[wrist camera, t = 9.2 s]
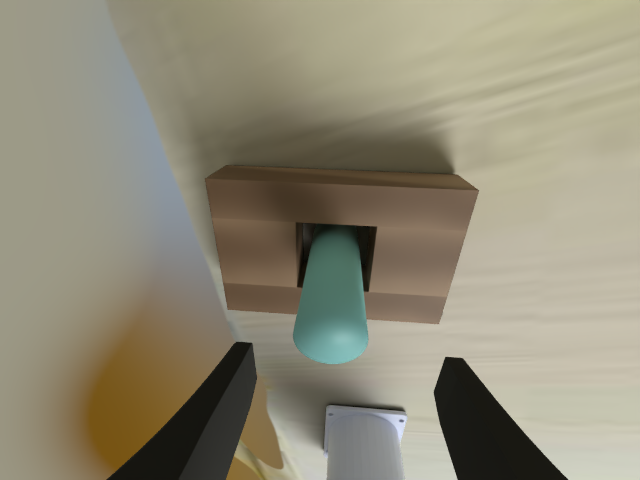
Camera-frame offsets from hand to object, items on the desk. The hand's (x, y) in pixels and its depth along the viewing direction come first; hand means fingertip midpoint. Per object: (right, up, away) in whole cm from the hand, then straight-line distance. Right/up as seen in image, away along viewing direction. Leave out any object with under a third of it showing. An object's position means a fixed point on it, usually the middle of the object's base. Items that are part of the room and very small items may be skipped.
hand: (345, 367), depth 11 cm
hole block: (0, +5, +8) cm, 10 cm away
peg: (0, +5, +8) cm, 10 cm away
